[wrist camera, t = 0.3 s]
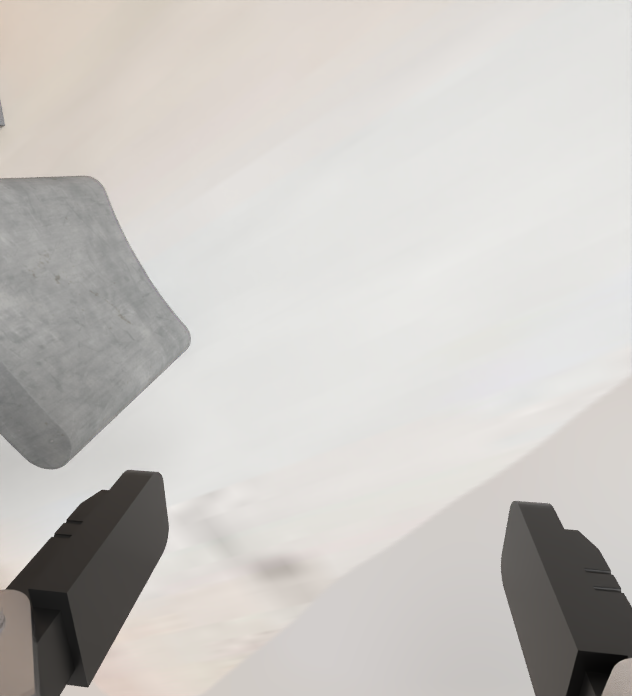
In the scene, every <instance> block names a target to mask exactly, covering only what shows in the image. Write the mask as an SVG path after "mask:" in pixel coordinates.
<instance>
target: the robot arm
mask: <svg viewBox="0 0 632 696" xmlns="http://www.w3.org/2000/svg"><path fill="white" fill-rule="evenodd" d="M168 531H169V524H168V516H167V508H166V499H165V491H164V483H163V478H162V475H161V474H160V473H159V472H149V471H136V470H127V471H125V472H124V473H123V474H122V475H121V477H120V478H119V479H118V480H117V481H116V483H115V484H114V485H113V486H112V487H111V489H110V490H101V491H99V492H98V493H96V494H95V495H93V496H92V497H90V498H89V499H87V500H85V501H84V502H82V503H81V504H80V505H79V506H78V507H77V509H76V510H75V511H74V512H73V513H72V514H71V515H70V516H69V518H68V519H67V522H66V523H63V524H62V526H61V527H60V528H59V529H58V530H57V531H56V532H55V535H54V537H51V538H50V539H49V540H48V542H47V543H46V544H45V545H44V546H43V547H42V548H41V550H40V551H39V552H38V553H37V554H36V555H35V556H34V557H33V559H32V560H31V561H30V562H29V563H28V564H27V565H26V567H25V568H24V569H23V570H22V571H21V572H20V573H19V575H18V576H17V577H16V578H15V579H14V580H13V581H12V583H11V584H10V585H9V586H8V587H7V588H6V589H5V590H0V696H60V694H61V692H62V691H63V689H64V688H65V686H66V685H74V686H81V687H89V685H90V683H91V681H92V680H93V678H94V676H95V674H96V672H97V671H98V669H99V667H100V665H101V663H102V662H103V660H104V658H105V656H106V654H107V653H108V651H109V649H110V647H111V645H112V644H113V642H114V640H115V638H116V636H117V635H118V633H119V631H120V629H121V627H122V626H123V624H124V622H125V620H126V618H127V617H128V615H129V613H130V611H131V609H132V608H133V606H134V604H135V602H136V601H137V599H138V597H139V595H140V593H141V592H142V590H143V588H144V586H145V584H146V583H147V581H148V579H149V577H150V575H151V574H152V572H153V570H154V568H155V566H156V565H157V563H158V561H159V559H160V557H161V556H162V554H163V552H164V549H165V546H166V543H167V539H168ZM501 573H502V581H503V586H504V590H505V593H506V597H507V600H508V604H509V607H510V610H511V614H512V617H513V621H514V624H515V627H516V631H517V634H518V638H519V641H520V644H521V647H522V651H523V655H524V658H525V661H526V664H527V668H528V671H529V675H530V678H531V682H532V685H533V688H534V692H535V695H536V696H632V607H631V605H630V603H629V602H628V600H627V598H626V596H625V595H624V593H621V588H620V586H619V584H618V582H617V581H616V579H615V577H614V576H613V575H611V570H610V568H609V567H608V565H607V563H606V561H605V559H604V558H603V556H602V554H601V552H600V551H599V549H598V548H596V546H595V545H593V544H592V543H591V542H590V541H589V540H588V539H587V538H586V537H585V536H584V535H582V534H581V533H580V532H579V531H578V530H566V529H564V528H563V526H562V524H561V522H560V520H559V518H558V516H557V514H556V512H555V510H554V508H553V506H552V505H551V504H547V503H535V502H520V501H513V502H512V504H511V506H510V511H509V517H508V523H507V528H506V535H505V540H504V545H503V551H502V558H501Z"/></svg>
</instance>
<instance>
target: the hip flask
mask: <svg viewBox="0 0 632 696" xmlns="http://www.w3.org/2000/svg"><path fill="white" fill-rule="evenodd" d="M190 341H191V337H190V333H189V331H188V329H187V327H186V326H185V325H184V324H183V323H182V322H181V320H180V319H179V318H178V317H177V316H176V315H175V313H174V312H173V311H172V310H171V308H170V307H169V306H168V305H167V303H166V302H165V301H164V299H163V298H162V296H161V295H160V294H159V292H158V291H157V289H156V288H155V286H154V285H153V283H152V282H151V280H150V279H149V277H148V276H147V274H146V272H145V271H144V269H143V267H142V266H141V264H140V262H139V261H138V259H137V257H136V256H135V254H134V252H133V250H132V248H131V247H130V245H129V243H128V241H127V239H126V237H125V235H124V233H123V231H122V229H121V227H120V225H119V223H118V220H117V218H116V216H115V214H114V211H113V209H112V206H111V204H110V201H109V199H108V196H107V193H106V191H105V189H104V187H103V186H102V184H101V183H100V182H99V181H97V180H96V179H94V178H92V177H89V176H68V177H35V178H2V179H0V434H1V435H2V436H3V437H4V438H5V439H6V440H7V441H8V442H9V443H10V444H11V445H12V446H13V447H14V448H15V449H16V450H17V451H18V452H19V453H20V454H21V455H22V456H23V457H24V458H25V459H27V460H28V461H29V462H30V463H32V464H34V465H36V466H38V467H40V468H44V469H57V468H60V467H62V466H64V465H66V464H67V463H68V462H69V461H70V460H71V459H72V458H73V457H74V456H75V455H76V454H77V453H78V452H79V451H80V450H81V449H82V448H83V447H84V446H86V445H87V444H88V443H89V442H90V441H91V440H92V439H93V438H94V437H95V436H96V435H97V434H98V433H99V432H100V431H101V430H102V429H103V428H104V427H106V426H107V425H108V424H109V423H110V422H111V421H112V420H113V419H114V418H115V417H116V416H117V415H118V414H119V413H120V412H121V411H122V410H123V409H125V408H126V407H127V406H128V405H129V404H130V403H131V402H132V401H133V400H134V399H135V398H136V397H137V396H138V395H139V394H140V393H141V392H142V391H143V390H145V389H146V388H147V387H148V386H149V385H150V384H151V383H152V382H153V381H154V380H155V379H156V378H157V377H158V376H159V375H160V374H161V373H162V372H163V371H165V370H166V369H167V368H168V367H169V366H170V365H171V364H172V363H173V362H174V361H175V360H176V359H177V358H178V357H179V356H180V355H181V354H182V353H183V352H185V351H186V350H187V349H188V347H189V345H190Z"/></svg>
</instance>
